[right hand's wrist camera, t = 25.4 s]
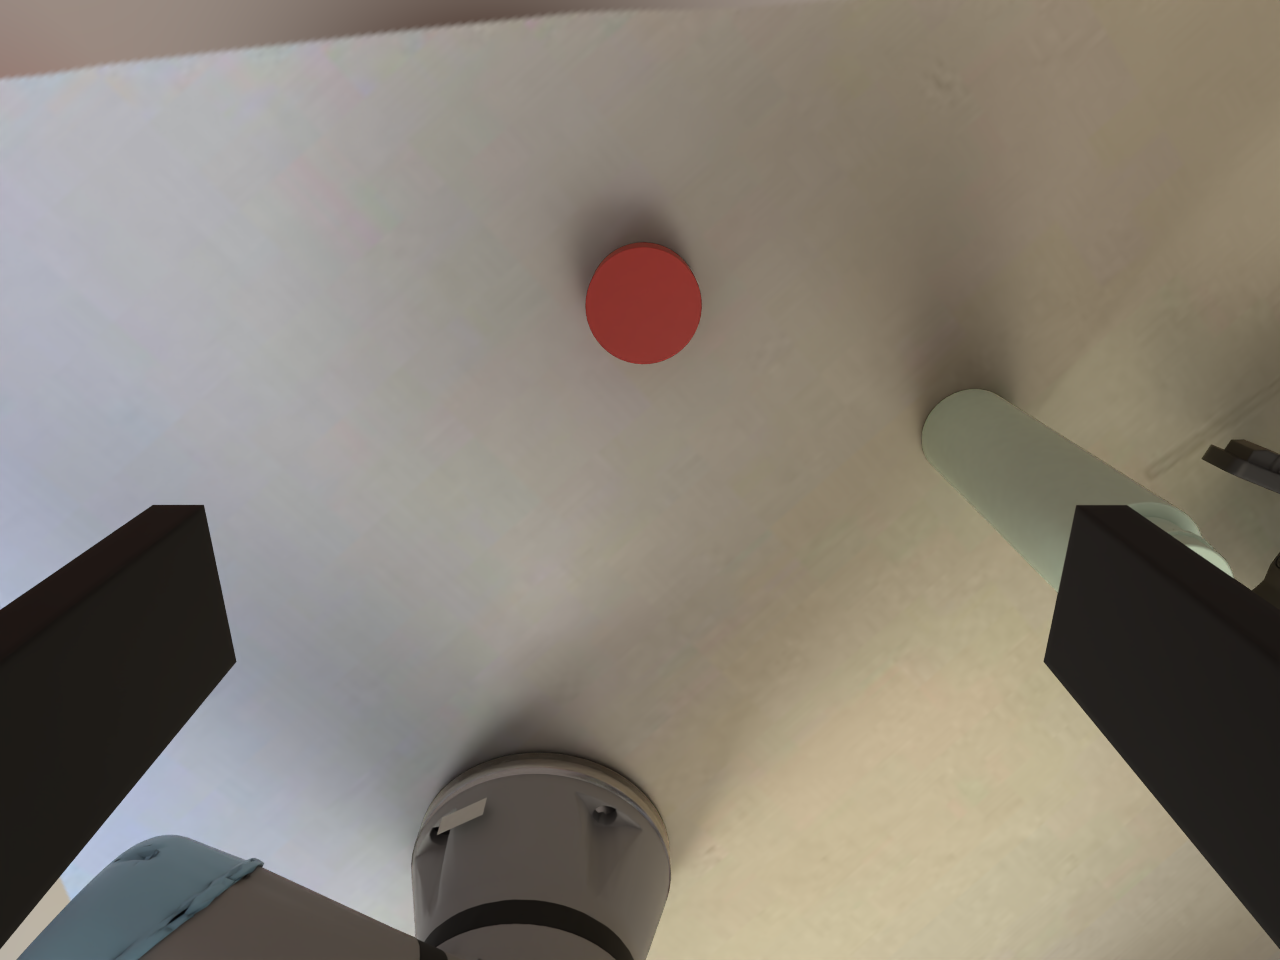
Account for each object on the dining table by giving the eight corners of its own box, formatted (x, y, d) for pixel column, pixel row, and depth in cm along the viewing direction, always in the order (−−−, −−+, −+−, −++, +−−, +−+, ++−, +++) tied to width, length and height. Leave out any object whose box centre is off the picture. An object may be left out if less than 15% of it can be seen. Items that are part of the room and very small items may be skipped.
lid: (716, 320, 38) (721, 329, 36) (622, 371, 39) (621, 384, 37) (665, 220, 37) (667, 224, 34) (568, 277, 37) (563, 284, 35)
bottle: (923, 392, 39) (1106, 536, 24) (1018, 385, 39) (1265, 524, 24) (919, 480, 41) (1088, 668, 26) (1010, 473, 41) (1236, 658, 25)
